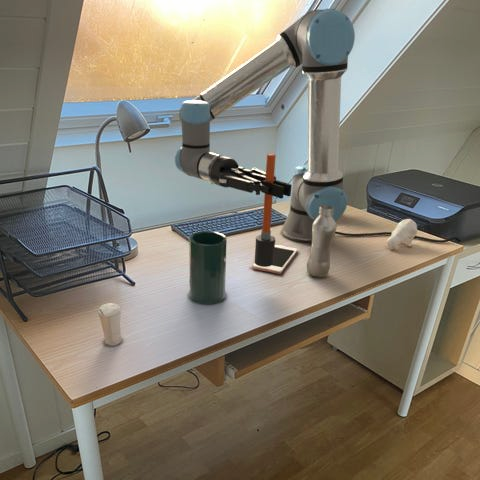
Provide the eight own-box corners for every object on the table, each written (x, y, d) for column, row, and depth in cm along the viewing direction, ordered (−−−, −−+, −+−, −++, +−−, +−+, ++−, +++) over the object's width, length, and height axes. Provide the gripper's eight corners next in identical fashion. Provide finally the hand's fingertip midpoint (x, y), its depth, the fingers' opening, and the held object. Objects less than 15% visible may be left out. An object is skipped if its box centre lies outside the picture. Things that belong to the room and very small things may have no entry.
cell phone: (251, 268, 139) (251, 265, 138) (271, 246, 153) (271, 243, 152) (280, 274, 136) (280, 271, 135) (297, 251, 150) (297, 248, 150)
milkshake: (96, 346, 103) (90, 306, 97) (110, 334, 107) (105, 295, 102) (114, 351, 101) (109, 311, 96) (127, 338, 106) (123, 299, 100)
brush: (269, 257, 130) (276, 151, 115) (276, 265, 126) (285, 156, 111) (251, 259, 128) (257, 152, 113) (258, 267, 124) (265, 157, 109)
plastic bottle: (314, 267, 141) (324, 201, 131) (333, 275, 137) (344, 208, 127) (300, 273, 137) (309, 206, 127) (319, 281, 133) (329, 213, 123)
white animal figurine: (421, 220, 154) (400, 231, 148) (416, 244, 159) (396, 256, 153) (404, 214, 158) (383, 225, 152) (399, 238, 163) (379, 249, 157)
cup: (218, 285, 129) (220, 229, 120) (229, 301, 122) (231, 243, 113) (186, 289, 126) (185, 232, 118) (195, 306, 119) (194, 247, 111)
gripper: (239, 179, 133) (304, 200, 119) (198, 189, 124) (263, 213, 110) (240, 152, 129) (308, 170, 115) (197, 160, 120) (265, 181, 106)
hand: (286, 191), depth 113 cm, fingers closed on brush, 2 cm apart
